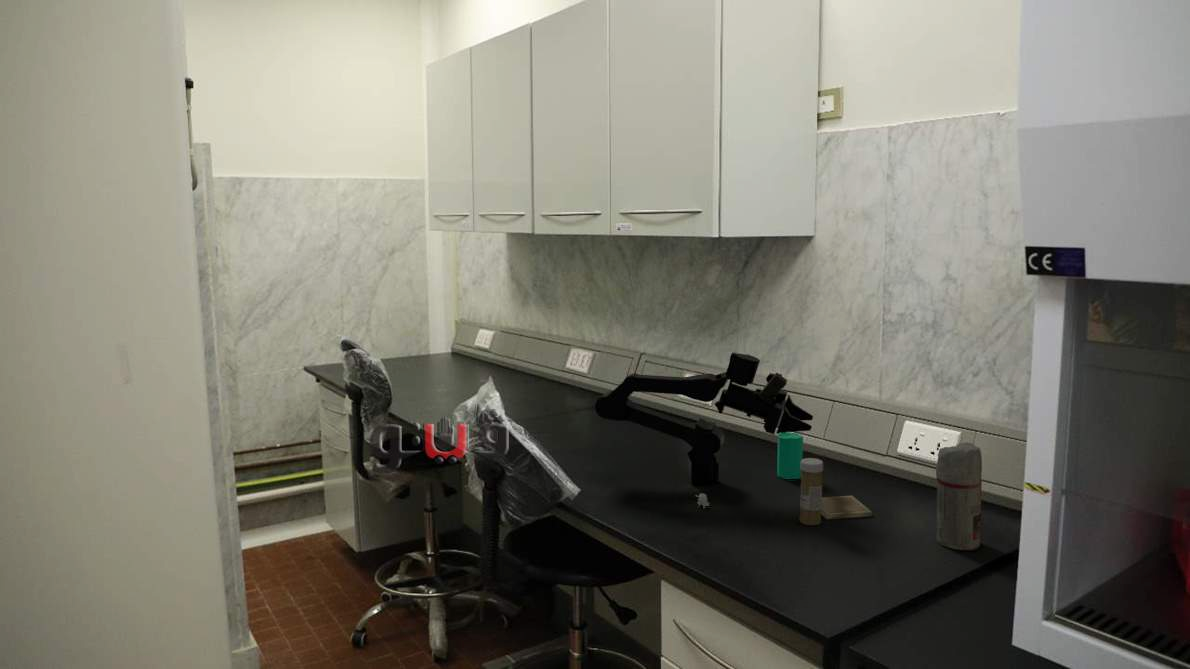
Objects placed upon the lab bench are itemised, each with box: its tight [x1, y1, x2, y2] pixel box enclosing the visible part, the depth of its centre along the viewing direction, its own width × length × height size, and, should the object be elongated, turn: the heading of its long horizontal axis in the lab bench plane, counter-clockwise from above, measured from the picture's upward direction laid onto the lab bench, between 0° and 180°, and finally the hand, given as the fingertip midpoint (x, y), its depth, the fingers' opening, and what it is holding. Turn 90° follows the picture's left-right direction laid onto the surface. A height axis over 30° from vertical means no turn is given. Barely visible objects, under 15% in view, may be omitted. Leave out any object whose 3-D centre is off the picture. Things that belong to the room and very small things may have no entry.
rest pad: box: [821, 495, 873, 520], centre depth 177 cm, size 10×10×1 cm
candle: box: [776, 432, 804, 480], centre depth 198 cm, size 6×6×12 cm
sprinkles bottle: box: [799, 457, 824, 526], centre depth 169 cm, size 5×5×13 cm
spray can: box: [935, 442, 983, 551], centre depth 156 cm, size 8×8×20 cm
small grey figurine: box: [694, 493, 710, 509], centre depth 180 cm, size 3×3×3 cm
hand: (811, 423), depth 187 cm, fingers open, 9 cm apart
